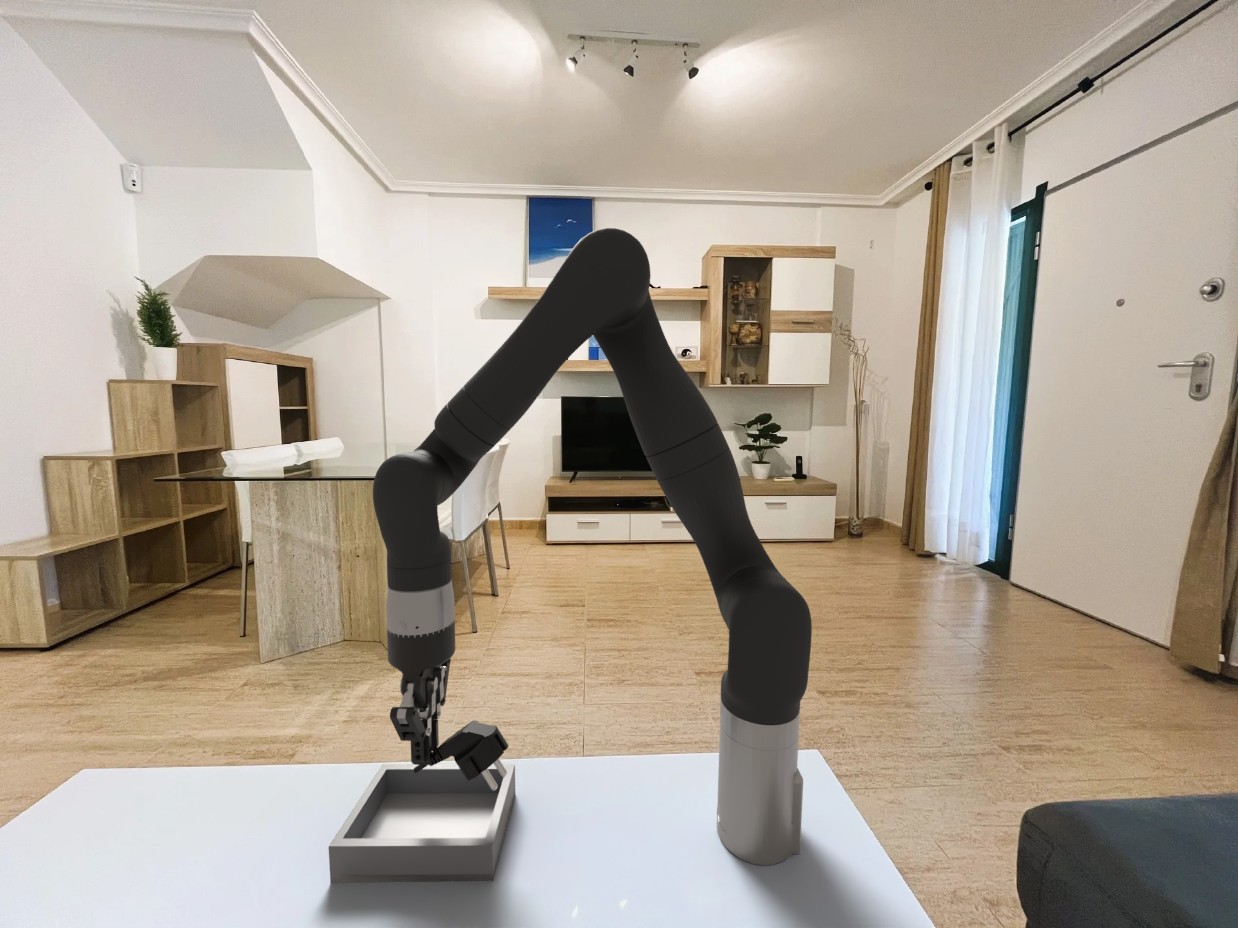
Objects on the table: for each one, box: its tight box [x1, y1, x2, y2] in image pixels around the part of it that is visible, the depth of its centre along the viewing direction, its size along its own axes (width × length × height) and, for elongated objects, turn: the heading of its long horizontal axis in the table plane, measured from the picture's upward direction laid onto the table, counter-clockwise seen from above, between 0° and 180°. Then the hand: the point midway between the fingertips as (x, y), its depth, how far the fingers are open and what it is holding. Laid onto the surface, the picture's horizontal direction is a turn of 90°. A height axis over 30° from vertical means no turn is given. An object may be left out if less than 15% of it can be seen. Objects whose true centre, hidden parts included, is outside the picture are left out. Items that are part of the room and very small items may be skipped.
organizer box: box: [328, 763, 516, 884], centre depth 62 cm, size 18×13×4 cm
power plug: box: [414, 720, 509, 791], centre depth 60 cm, size 6×8×12 cm
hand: (425, 754), depth 61 cm, fingers closed on power plug, 2 cm apart
